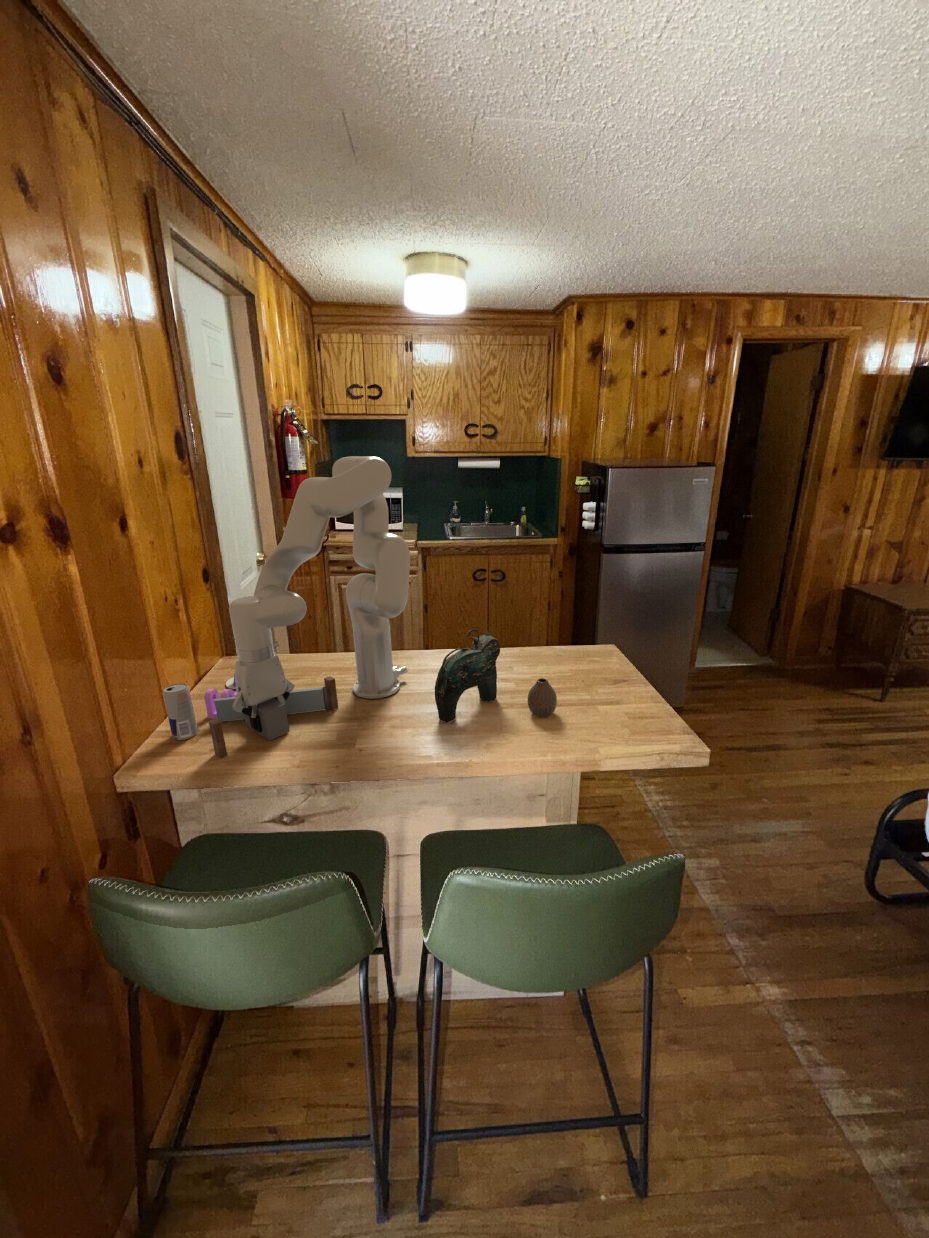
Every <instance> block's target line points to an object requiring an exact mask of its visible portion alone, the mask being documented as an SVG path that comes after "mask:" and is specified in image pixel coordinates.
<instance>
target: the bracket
mask: <svg viewBox="0 0 929 1238" xmlns="http://www.w3.org/2000/svg"><path fill="white" fill-rule="evenodd" d="M228 697H237V691H234V689H231V688H226V689H225V688H224V689H223V690H222V692H221V695H220V696H219V692H218V689H215V688H208V689H207V690H206V691H205V692H204V703H205V708H206V714H207V717H208V718H207V719H218V718H217V713H216V708H215V702H214V701H215V699H219V698H228Z"/></svg>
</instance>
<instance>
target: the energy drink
mask: <svg viewBox="0 0 929 1238" xmlns="http://www.w3.org/2000/svg"><path fill="white" fill-rule="evenodd" d="M162 696H163V697H162V698H163V700H164V706H165V709H166V715H167V718H168V719H167V720H168V724H169V727H170V732H171V737H172V738H173V739H174V740H176V741H185V740H189V739H191V738H193V737H195V736H196V735H197V733H198V732H199V728H198V725H197V719H196V714H195V709H194V704H193V699H192V695H191V690H190V686H189V685H188V684H187V683H186V682H185V683H184V682H177V683H172V684H169V685H167V686H166V687H164V688H163V692H162Z"/></svg>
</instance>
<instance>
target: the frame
mask: <svg viewBox="0 0 929 1238" xmlns="http://www.w3.org/2000/svg"><path fill="white" fill-rule="evenodd" d="M323 680H324V686H326V687H327V693H328V701H329V710H332V711H333V710H336V709H338V708H339V702H338V694H337V693H338V691H337V684H336V678H335V677H332V676H330V675H329V676H326V677H324V678H323ZM208 725H209V730H210V734H211V735H210V736H211V740H212V745H213V750H214V755H215V756H217V757H218V758H219V759H221V758H223V757H226V756H228V752H227V747H226V741H225V736H224V731H223V725H222V722H221V721H219V720H218V719H215V718H212V719H210V720H208Z"/></svg>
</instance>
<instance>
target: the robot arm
mask: <svg viewBox="0 0 929 1238" xmlns="http://www.w3.org/2000/svg"><path fill="white" fill-rule="evenodd" d="M331 469H332V471H331V473H332V474H331V475H332V476H331V477H326V476H325V477H323V476H315V477H314V476H313V477H308V478H305V479H304V480H303V481H302V482H300V484H299V486H298V488H297V491H296V493H295V496H294V500H293V502H292V503H293V504H292V506H291V509H290V513H289V517H288V518H287V522H286V526H285V528H284V532H283V535H282V538H281V540H280V542H279V543H278V545H276V547H275V548H274V549H273V550H272V552H271V554H270V555H269V556H268V558H267V559H266V561H265V562H264V564H263V566H262V567H261V569H260V573H259V575H258V578H257V582H256V585H255V588H254V593H253V595H252V596H251V595H250V596H242V597H238V598H236V599H234V600H232V601H231V602H230V603H229V605H228V611H229V612H228V613H229V616H230V617H229V618H230V622H231V626H232V632H233V636H234V642H235V647H236V652H237V657H238V660H237V661H235V664H234V674H235V683H236V689H235V692H237V697H236V699H235V701H234V703H233V705H232V707H231V708H232V709H233V710H235V711H237V712H241V713H244V714H246V715H248V716H249V719H250V724H251V727H252V729H251V730H253V729H255V730H256V731H257V732H259V733H260V732H262V727H261V721H260V717H259V716H258V715H257V709H258V704H259V703H262V702H264V701H267V700H270V699H272V698H274V699H276V700H278V701H279V702H281V703H283V704H286V700H287V698H288V697H289V695H290V693H291V691H292V690H294V688H295V686H296V685H295V684H294V683H292V682H291V681H289V680H288V679H287V678H286V674H285V671H284V667H283V664H282V662H281V660H280V657H279V654H278V652H276V650H275V649H276V648H278V647H279V646H280V643H279V642H278V640H275V641H274V640H273V636H272V630H271V629H272V628H278V627H279V628H280V627H288V626H293V625H295V624H298V623H299V622H300V621H302V620H303V619H304V617H305V616H306V614H307V608H308V607H307V603H306V601H305V600H304V598H303V597H302V596H301V595H299V594H297V593H296V592H293V591H290V590H288V586H289V584H290V580H291V578H292V576H293V575H294V573H295V571H296V570H297V569H298V568H299V567H300V566H301V565H303V563H305V562H307V561H309V560H311V559H312V558H314V557H316V556H317V555H318V554H319V553H320V551H321V548H322V545H323V541H324V538H325V535H326V532H327V529H328V525H329V522H330V518H335V519H336V518H342V517H344V516H347V515H349V514H352V513H353V530H352V531H353V534H352V535H353V536H352V557H353V560H354V562H355V563H356V564H357V565H359V567H361V568H365V569H367V570H372V571H375V574H374V573H365V572H364V573H363V572H362V573H359V574H356V575H354V576H352V577H351V578H350V580H349V581H348V582H347V584H346V587H345V599H346V604H347V608H348V611H349V614H350V619H351V625H352V632H353V633H352V634H353V645H354V654H355V663H356V664H355V665H356V675H357V676H356V677H357V681H356V682H355V683H354V684H353V686H352V693H353V694H354V695H355V696H357V697H359V698H362V699H368V700H369V699H370V700H372V699H375V700H376V699H383V698H386V697H389V696H392V695H394V694H396V693H397V692H398V691H399V690H400V688H401V682H400V680H399V679H398V678H400V676H402V675H404V674H407V673H408V668H407V666H405V665H403V666H401V667H400V668H398V667H397V666H393V665H394V664H393V663H394V662H393V652H392V651H393V650H392V638H391V636H392V635H391V625H390V620H389V619H392V618H396V617H398V616H399V615H400V614H402V612H403V611H404V610H405V608H406V605H407V602H408V597H409V587H410V585H409V584H410V572H411V568H410V567H411V554H410V549H409V546H408V544H407V542H406V541H405V539H404V538H403V537H402V536H400V535H397V534H394V533H390V531H389V507H388V502H387V500H386V497H385V495H384V493H385V492H386V491H387V490H388V488H389V487H390V485H391V482H392V471H391V468H390V466H389V464H388V463H387V462H386V461H385V460H384V459H382V458H380V457H378V456H371V455H370V456H368V455H367V456H360V455H359V456H357V455H356V456H355V455H354V456H351V455H350V456H345V457H340V458H339V459H337V460H336V461H335V462H334V463H333V465H332V468H331ZM243 701H245V703H246V705H247V707H246V708H245V707H243V706H241V704H242V702H243ZM256 731H255V732H256ZM257 732H256V733H257ZM259 733H258V734H259Z"/></svg>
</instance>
